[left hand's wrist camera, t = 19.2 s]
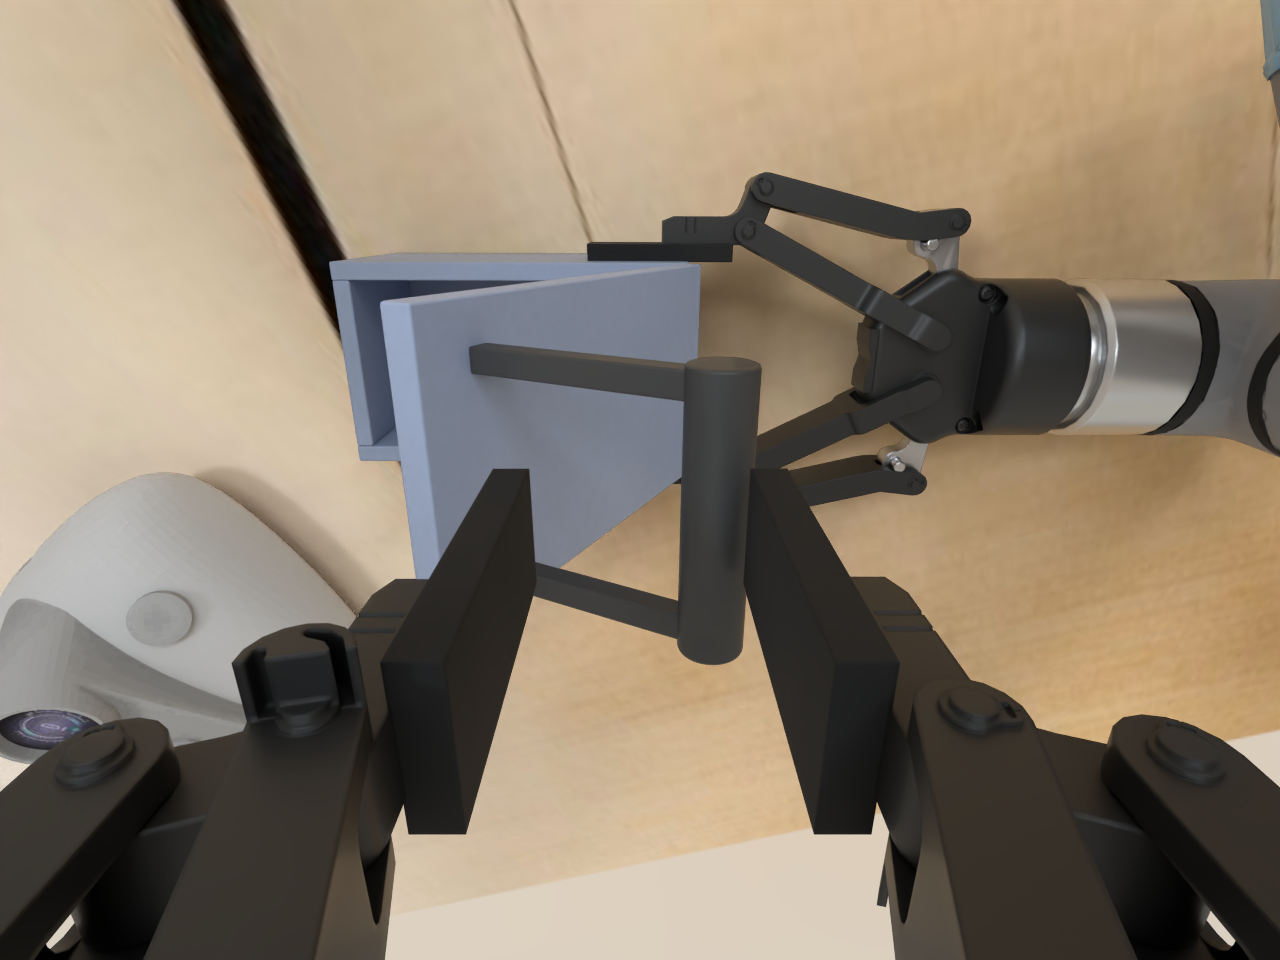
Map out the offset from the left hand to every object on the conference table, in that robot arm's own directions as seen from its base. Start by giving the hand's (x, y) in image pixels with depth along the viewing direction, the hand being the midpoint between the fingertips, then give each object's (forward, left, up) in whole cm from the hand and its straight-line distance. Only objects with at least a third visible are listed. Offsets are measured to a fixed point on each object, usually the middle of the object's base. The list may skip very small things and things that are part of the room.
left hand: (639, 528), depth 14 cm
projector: (-18, -26, -26) cm, 41 cm away
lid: (-2, -1, -10) cm, 10 cm away
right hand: (-2, -1, -20) cm, 20 cm away
